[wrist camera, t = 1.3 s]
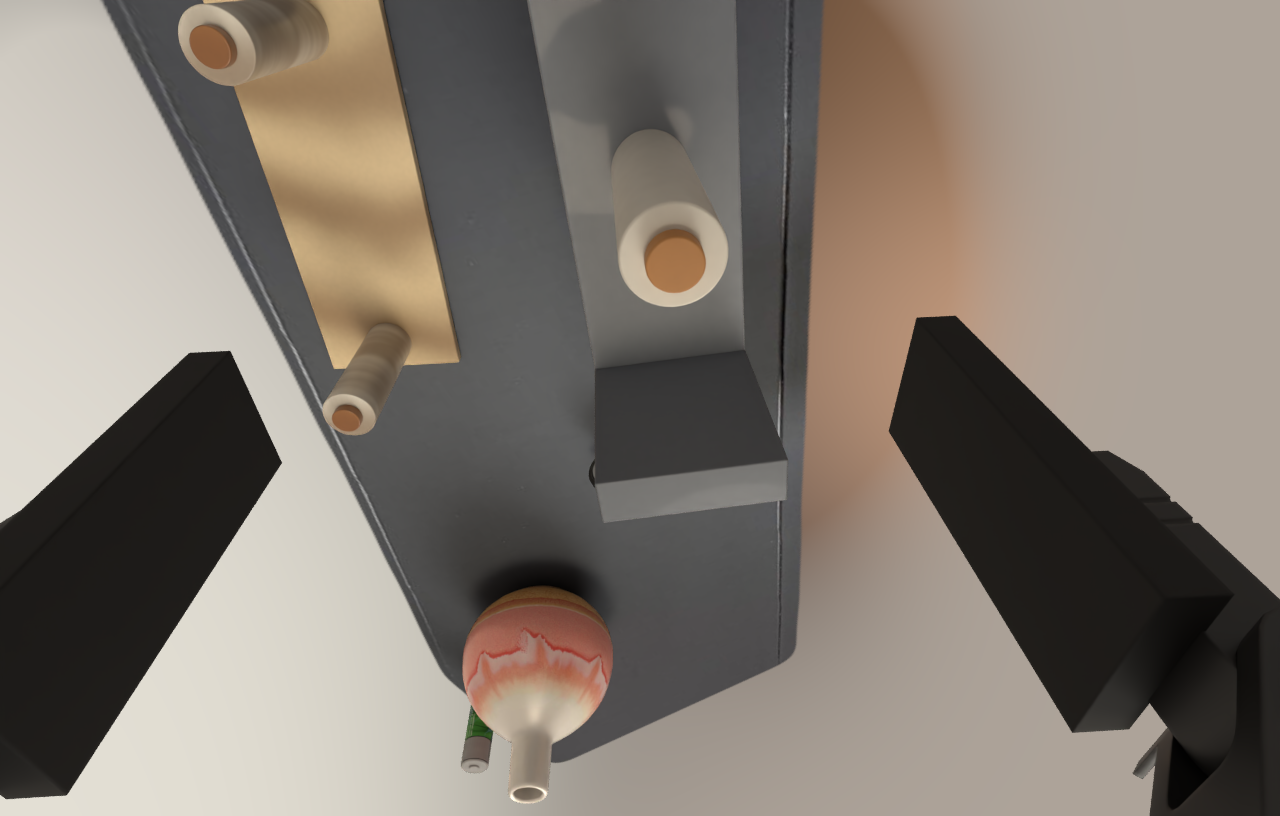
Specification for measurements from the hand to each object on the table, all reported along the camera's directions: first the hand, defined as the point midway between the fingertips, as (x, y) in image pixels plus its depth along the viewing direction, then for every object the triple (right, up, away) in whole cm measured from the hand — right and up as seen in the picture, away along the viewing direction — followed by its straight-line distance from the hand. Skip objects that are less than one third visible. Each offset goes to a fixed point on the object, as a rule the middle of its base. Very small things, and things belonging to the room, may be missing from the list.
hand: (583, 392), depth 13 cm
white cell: (+2, +9, +12) cm, 15 cm away
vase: (-9, -20, +51) cm, 55 cm away
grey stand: (+1, +18, +25) cm, 31 cm away
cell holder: (-17, +13, +27) cm, 35 cm away
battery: (-16, -30, +57) cm, 67 cm away
